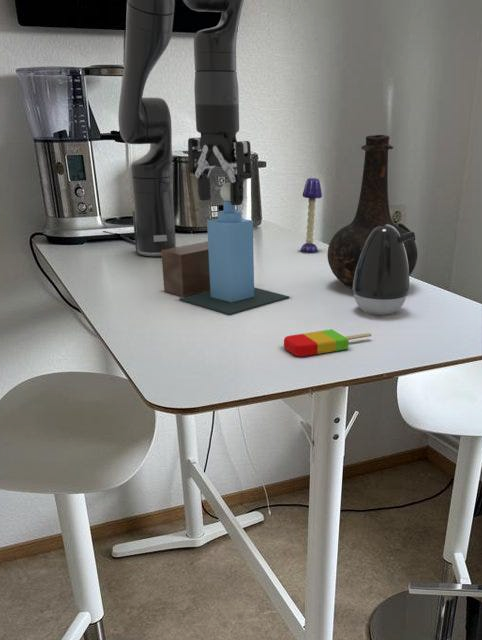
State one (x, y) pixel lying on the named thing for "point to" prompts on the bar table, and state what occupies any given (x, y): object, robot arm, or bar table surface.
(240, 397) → the bar table surface
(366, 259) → the pump dispenser
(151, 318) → the bar table surface
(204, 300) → the mat
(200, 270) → the block
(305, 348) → the popsicle
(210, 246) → the bottle
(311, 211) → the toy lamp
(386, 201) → the glass bottle
